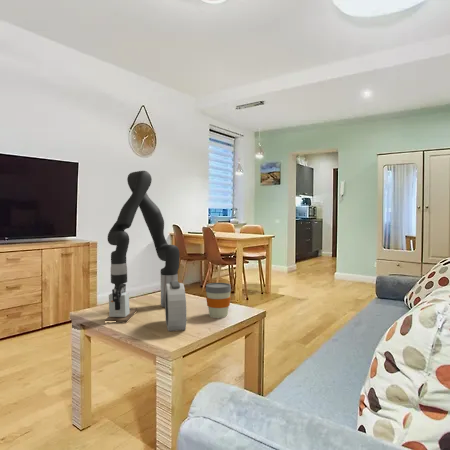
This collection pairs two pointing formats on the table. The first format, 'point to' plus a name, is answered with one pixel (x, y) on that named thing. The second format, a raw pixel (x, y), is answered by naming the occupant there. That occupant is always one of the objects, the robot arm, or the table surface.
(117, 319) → the walnut board
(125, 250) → the robot arm
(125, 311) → the small box
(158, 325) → the table surface
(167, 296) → the alarm clock
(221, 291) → the reusable coffee cup
